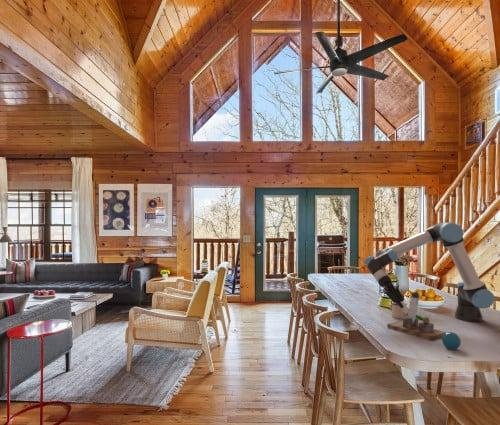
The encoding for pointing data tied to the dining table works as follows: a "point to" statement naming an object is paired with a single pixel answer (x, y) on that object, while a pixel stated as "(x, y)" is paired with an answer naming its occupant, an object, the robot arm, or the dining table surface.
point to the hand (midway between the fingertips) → (407, 312)
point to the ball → (451, 340)
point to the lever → (413, 307)
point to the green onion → (417, 316)
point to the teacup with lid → (398, 311)
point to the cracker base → (417, 328)
